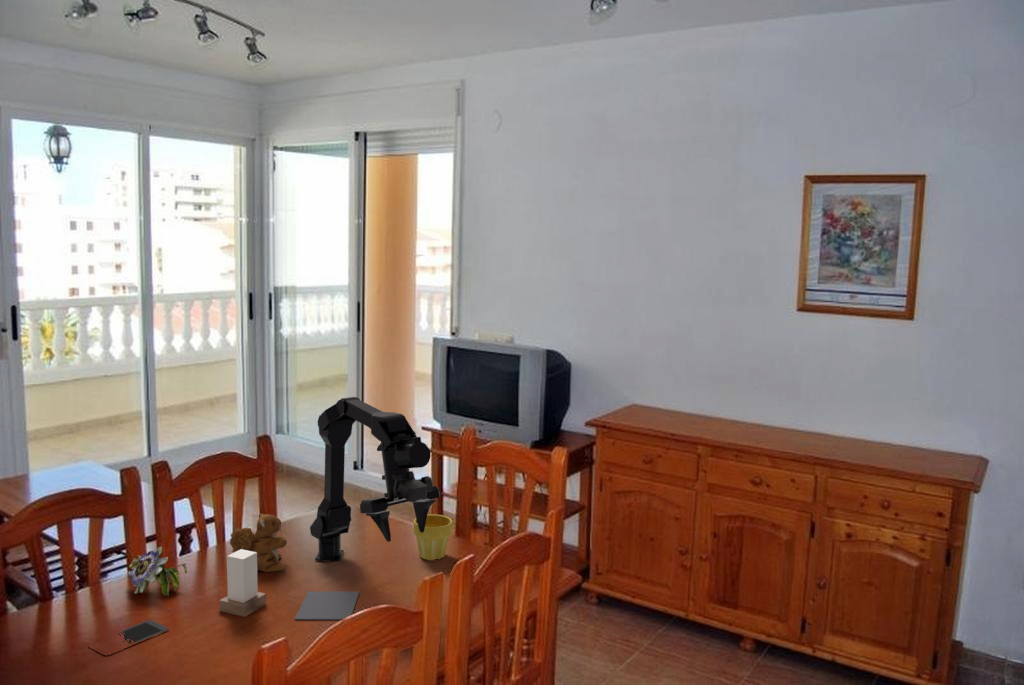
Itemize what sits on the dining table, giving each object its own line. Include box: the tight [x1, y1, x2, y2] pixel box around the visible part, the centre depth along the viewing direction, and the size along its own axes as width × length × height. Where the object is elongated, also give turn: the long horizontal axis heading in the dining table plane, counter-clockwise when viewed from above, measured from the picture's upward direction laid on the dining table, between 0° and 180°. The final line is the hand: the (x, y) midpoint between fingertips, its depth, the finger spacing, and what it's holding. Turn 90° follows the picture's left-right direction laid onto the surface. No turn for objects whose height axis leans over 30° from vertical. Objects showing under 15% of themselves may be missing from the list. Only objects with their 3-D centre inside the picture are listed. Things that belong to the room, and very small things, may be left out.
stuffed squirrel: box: [229, 513, 287, 573], centre depth 201 cm, size 10×14×13 cm
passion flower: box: [127, 545, 188, 597], centre depth 187 cm, size 11×11×12 cm
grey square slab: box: [219, 591, 267, 618], centre depth 178 cm, size 7×7×2 cm
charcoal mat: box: [294, 590, 360, 621], centre depth 180 cm, size 14×12×1 cm
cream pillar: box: [226, 549, 259, 603], centre depth 177 cm, size 4×4×10 cm
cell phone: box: [118, 619, 169, 644], centre depth 163 cm, size 7×14×1 cm, turn 146°
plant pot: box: [412, 514, 453, 561], centre depth 210 cm, size 10×10×10 cm
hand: (405, 536), depth 182 cm, fingers open, 9 cm apart
